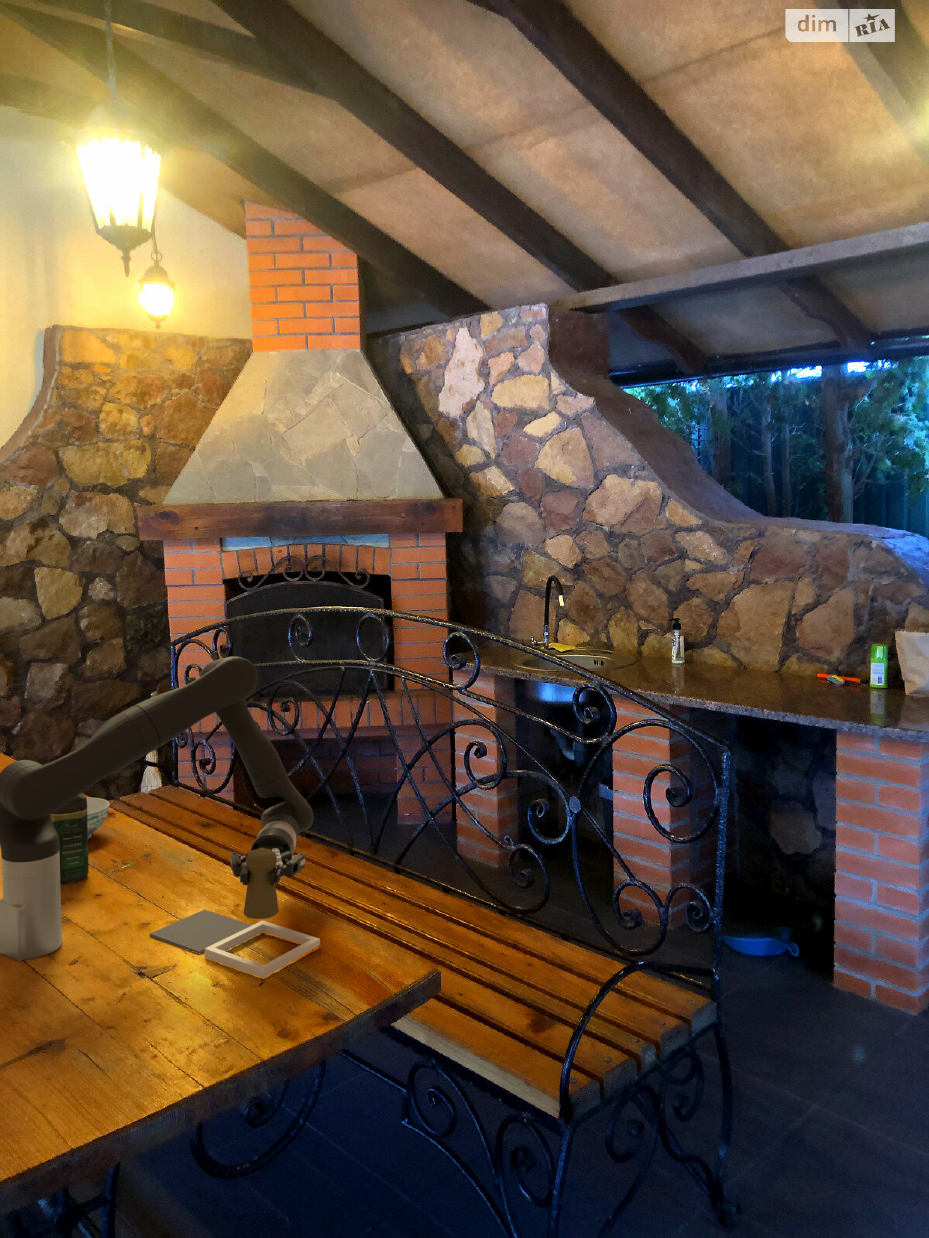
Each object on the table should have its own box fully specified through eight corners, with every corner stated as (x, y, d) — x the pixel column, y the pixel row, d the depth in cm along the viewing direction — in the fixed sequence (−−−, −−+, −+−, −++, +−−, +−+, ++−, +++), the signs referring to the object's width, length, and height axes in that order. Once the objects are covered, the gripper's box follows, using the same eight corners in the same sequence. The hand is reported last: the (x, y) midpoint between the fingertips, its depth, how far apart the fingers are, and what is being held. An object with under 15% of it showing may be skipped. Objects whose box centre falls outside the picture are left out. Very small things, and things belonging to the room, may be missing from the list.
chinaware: (63, 853, 210) (62, 820, 209) (29, 839, 219) (28, 807, 218) (122, 836, 222) (121, 805, 221) (88, 823, 231) (87, 793, 230)
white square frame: (263, 980, 152) (263, 969, 152) (204, 958, 160) (204, 948, 160) (320, 948, 164) (320, 938, 164) (262, 929, 172) (262, 920, 171)
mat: (199, 954, 161) (199, 951, 161) (149, 935, 168) (149, 933, 168) (253, 927, 172) (253, 925, 172) (204, 911, 179) (204, 909, 179)
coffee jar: (93, 879, 195) (91, 793, 193) (53, 887, 190) (50, 799, 188) (82, 865, 203) (80, 782, 201) (43, 872, 198) (40, 788, 196)
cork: (236, 914, 160) (236, 852, 159) (259, 902, 165) (259, 842, 164) (263, 921, 157) (263, 859, 156) (285, 909, 162) (286, 848, 161)
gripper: (236, 826, 174) (216, 858, 157) (312, 827, 175) (300, 859, 158) (236, 864, 175) (216, 900, 158) (312, 865, 175) (300, 901, 158)
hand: (258, 879), depth 158 cm, fingers closed on cork, 4 cm apart
